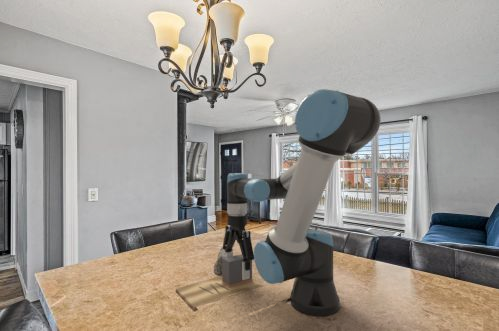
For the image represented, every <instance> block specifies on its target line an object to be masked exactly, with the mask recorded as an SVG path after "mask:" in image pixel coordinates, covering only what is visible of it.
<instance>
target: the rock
mask: <svg viewBox="0 0 499 331" xmlns="http://www.w3.org/2000/svg"><path fill="white" fill-rule="evenodd" d="M231 252H233V251H231ZM222 258H226V252H225V249H223V247H221V248H220V250H219V252H218V254H217V258H216V260H215V262H214V265H213V273H214V274H217V275H220V274H222Z"/></svg>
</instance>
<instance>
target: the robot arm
mask: <svg viewBox="0 0 499 331" xmlns="http://www.w3.org/2000/svg"><path fill="white" fill-rule="evenodd" d="M294 124H295V130H296V133H297V134H298V136H299V137H298V139H297V140H298V141H297V143H298V145H299V146H300V147H301V151H300V154H299V157H298V159H297V161H296V162H295V163H294V164H292V165H291V166H290V167H289V168H288V169H286V170H285V171H284V172H283V173H282V174H281V175H279V176H278V177H276V178H248V175H247V173H245V172H244V173H242V172H238V173H237V172H236V173H232V172H231V173H228V175H227V180H226V190H227V192H226V194H227V196H226V197H227V201H226V202H227V204H226V205H227V206H226V211H227V212H226V213H227V214H228V215H227V217H226V220H227V222H226V224H227V225H226V226H224V228H225V229H224V231H225V232H224V238H223V243H222V248H223V249H225V252H226V257H230V256H234V252H233V251H234V250H233V248H234V245H235V243H237V244H238V245H239V249H240V252H241V253H240V254H242V256H243V259H244V260H242V280H246V279H249V278H250V261H251V260H252V261H254V263H255V268H256V270H257V272H258V274H259V276H260V278H262V280H263V281H265V282H266V283H268V284H270V285H275V284H282V283H284V282H287V281H291V280H292V279H294V281H293V285H292V289H291V291H290V297H289V298H290V305H291V306H292V307H293V308H294V309H295V310H297V311H298V312H300V313H303V314H306V315H311V316H317V317H324V316H325V317H326V316H331V315H334V314H336V313H337V312H338V311H339V310H340V308H341V306H340V297H339V295H338V291H337V289H336V285H335V282H334V240H333V236H332V234H331V233H330V232H327V231H323V230H319V229H314V228H311V225H312V222H313V220H314V217H315V215H316V212H317V209H318V208H319V207H318V206H319V204H320V203H321V202H320V201H321V199H322V196H323V194H324V191H325V189H326V186H327V183H328V181H329V179H330V176H331V173H332V171H333V169H334V167H335V166H334V165H335V163H336V162H338V161H339V160H341V159H342V158H343V157H345V156H346V155H353V154H355V153H357V152H358V151H360V150H361V149H362V148H363V147H365V146H366V145H367V144H369V143H370V142H371V141H372V140H373V139H374V138H375V136H376V135H377V133H378V132H379V129H380V127H381V114H380V111H379V109H378V107H377V105H376V104H375V103H373V102H372V101H371V100H369V99H367V98H365V97H361V96H356V95H353V94H348V93H346V92H345V93H344V92H343V91H342V92H341V91H339V90H335V89H334V90H333V89H325V88H324V89H323V88H322V89H317V90H315V91H313V92H311V93H310V94H308V95H307V96H305V98H303V100H302V101H301V102H300V104H299V105H298V108H297V110H296V113H295V118H294ZM269 200H284V202H283V204H282V208H281V209H280V210H281V211H280V213H279V217H278V220H277V223H276V225H274V226H271V228H270V229H268V232H267V235H266V239H265V240H260V241H258V242H257V243H256V244H255V246H254V248H253V245H252V239H251V238H252V237H251V231H250V230H248V231H247V230H246V226H247V225H248V215H247V213H248V201H250V202H253V203H256V202H257V203H258V202H259V203H262V202H264V201H269ZM231 251H232V252H231Z"/></svg>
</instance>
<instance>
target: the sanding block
mask: <svg viewBox="0 0 499 331" xmlns="http://www.w3.org/2000/svg"><path fill="white" fill-rule="evenodd" d="M242 260H244V259H243V256H242V253H240V254H236V255H233V256H230V257H226V258H222V273H221V276H222V283H223V284H225V285H226V286H227V287H229V288H230V287H233V286H237V285H240V284H244V283H247V282H250V281H252V280H253V260H251V261H250V278H249V279H246V280H242Z"/></svg>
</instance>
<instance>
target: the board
mask: <svg viewBox="0 0 499 331" xmlns="http://www.w3.org/2000/svg"><path fill="white" fill-rule="evenodd" d="M260 287H263V285H261V284H259V283H258V282H256V281H255V280H253V279H252V281H250V282H247V283H244V284H240V285H237V286H233V287H230V288H229V287H227V286H226V285H225V284H223V283H222V275H221V276H218V277H214V278H210V279H206V280H203V281H199V282H193V283H192V284H191V283H190V284H188V285H182V286H179V287H176V288H175V292H176V293H177V294H178V295H179V296H180V298H182V299H183V301H184V302H185V303H186V304H187V305H188V306H189V307H190V308H191V310H193V311H198V308H197V307H201V306H203V305H206V304H210V303H213V302H216V301H220V300H223V299H225V298H228V297H231V296H235V295H238V294H242V293H244V292H247V291H250V290H254V289H257V288H260Z"/></svg>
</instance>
